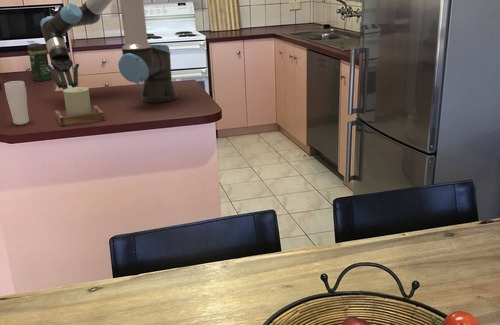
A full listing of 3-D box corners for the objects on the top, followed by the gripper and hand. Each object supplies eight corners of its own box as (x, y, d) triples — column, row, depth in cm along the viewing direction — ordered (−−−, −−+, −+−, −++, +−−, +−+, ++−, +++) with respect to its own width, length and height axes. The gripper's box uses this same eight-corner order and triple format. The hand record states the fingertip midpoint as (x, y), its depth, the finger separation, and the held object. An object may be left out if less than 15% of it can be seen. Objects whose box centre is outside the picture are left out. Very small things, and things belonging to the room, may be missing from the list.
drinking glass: (25, 119, 195) (18, 80, 190) (34, 122, 191) (28, 82, 186) (8, 123, 191) (0, 83, 185) (17, 126, 186) (9, 85, 181)
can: (79, 124, 188) (75, 92, 184) (61, 121, 192) (57, 89, 188) (98, 118, 195) (94, 86, 191) (80, 115, 200) (76, 84, 195)
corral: (55, 118, 196) (54, 110, 195) (96, 112, 203) (95, 105, 202) (61, 126, 186) (60, 118, 184) (104, 120, 192) (103, 112, 191)
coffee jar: (53, 79, 266) (48, 43, 260) (38, 82, 261) (32, 44, 255) (45, 77, 273) (39, 41, 266) (30, 79, 268) (24, 43, 261)
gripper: (72, 56, 217) (87, 104, 211) (40, 57, 210) (54, 107, 204) (75, 45, 212) (91, 95, 205) (42, 46, 204) (57, 97, 198)
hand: (73, 101), depth 204 cm, fingers closed
